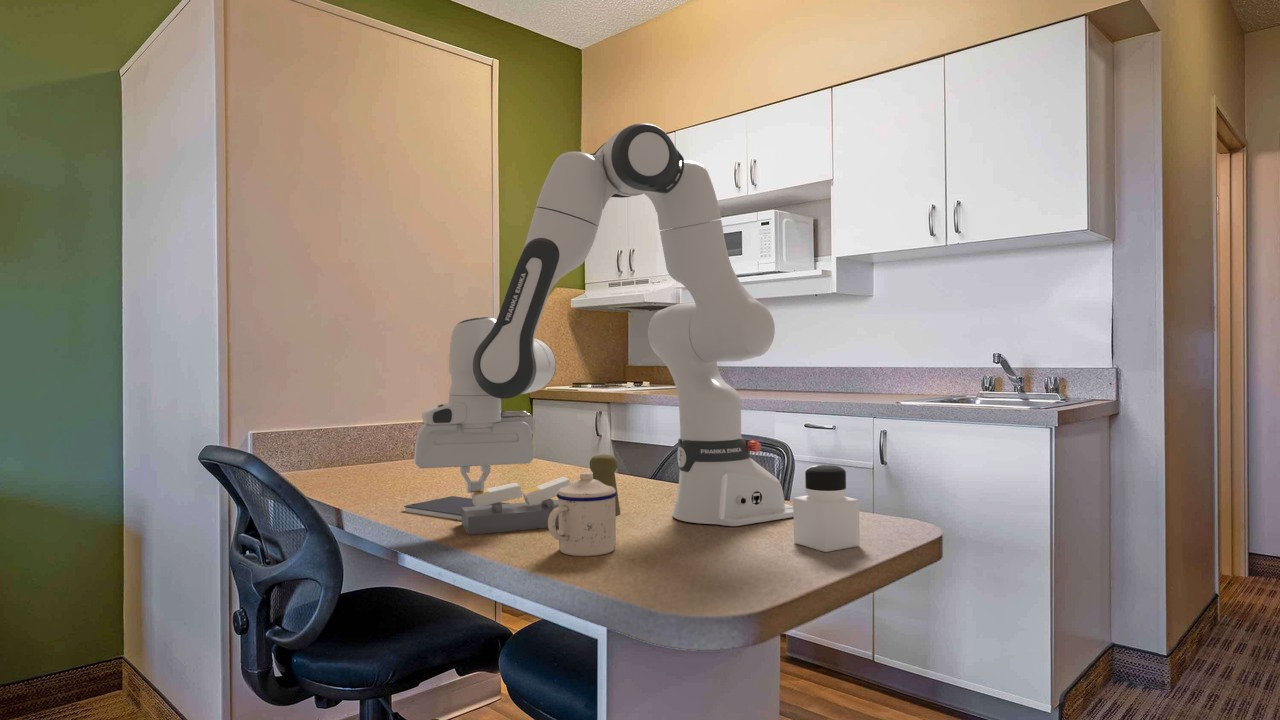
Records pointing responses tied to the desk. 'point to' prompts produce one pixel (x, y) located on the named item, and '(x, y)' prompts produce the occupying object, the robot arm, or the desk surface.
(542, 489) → the rocker
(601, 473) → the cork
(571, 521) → the teacup with lid
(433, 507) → the notebook
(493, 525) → the power strip
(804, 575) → the desk surface
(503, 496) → the rocker
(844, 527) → the medicine bottle
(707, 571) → the desk surface
